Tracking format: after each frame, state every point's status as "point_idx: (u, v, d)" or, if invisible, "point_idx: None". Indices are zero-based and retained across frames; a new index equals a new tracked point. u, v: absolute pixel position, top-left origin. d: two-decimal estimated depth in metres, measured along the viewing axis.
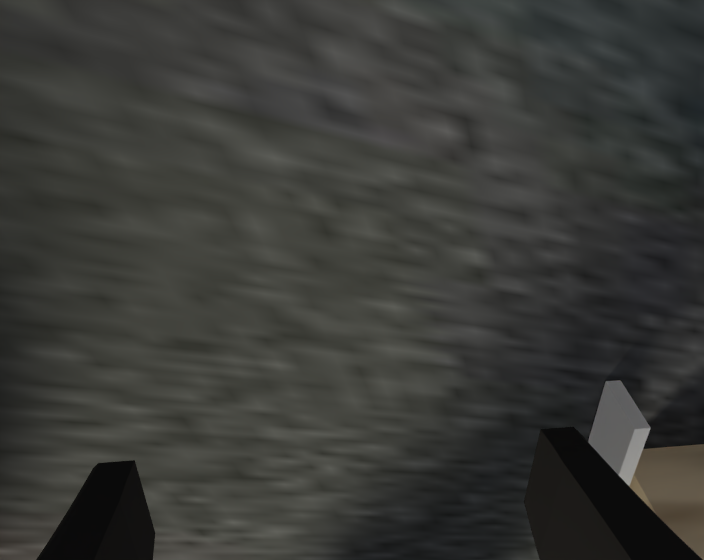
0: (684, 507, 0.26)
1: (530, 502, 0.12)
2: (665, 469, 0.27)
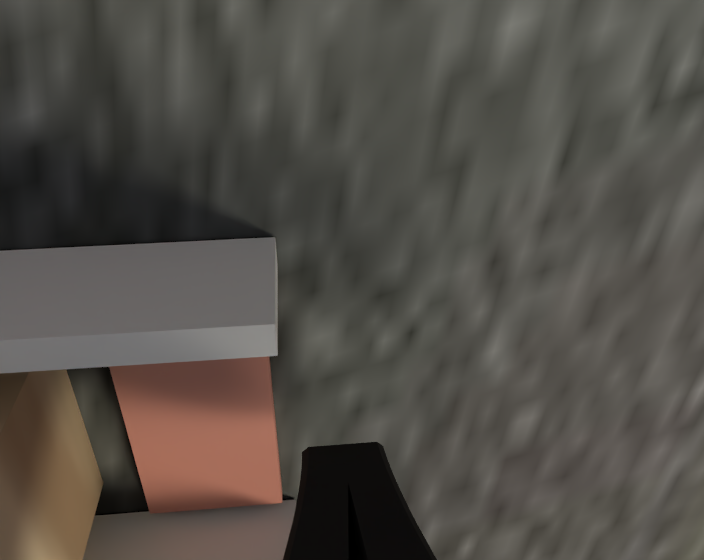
0: None
1: None
2: None
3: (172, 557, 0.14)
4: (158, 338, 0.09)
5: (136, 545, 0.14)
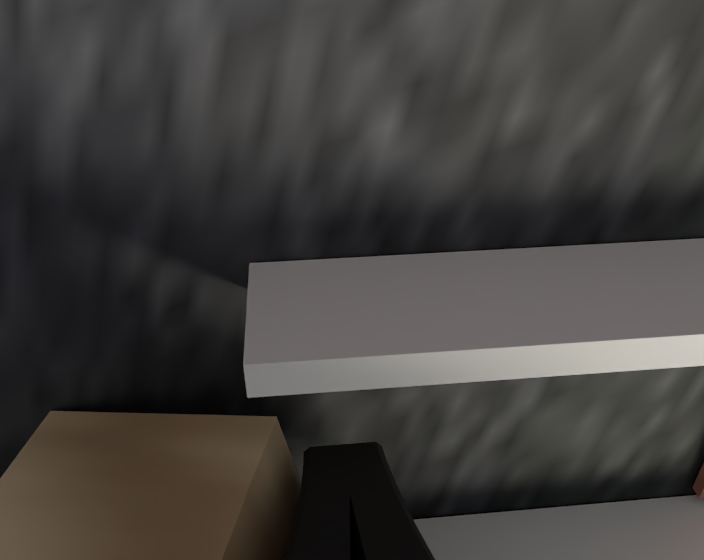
0: None
1: None
2: None
3: None
4: None
5: (698, 528, 0.15)
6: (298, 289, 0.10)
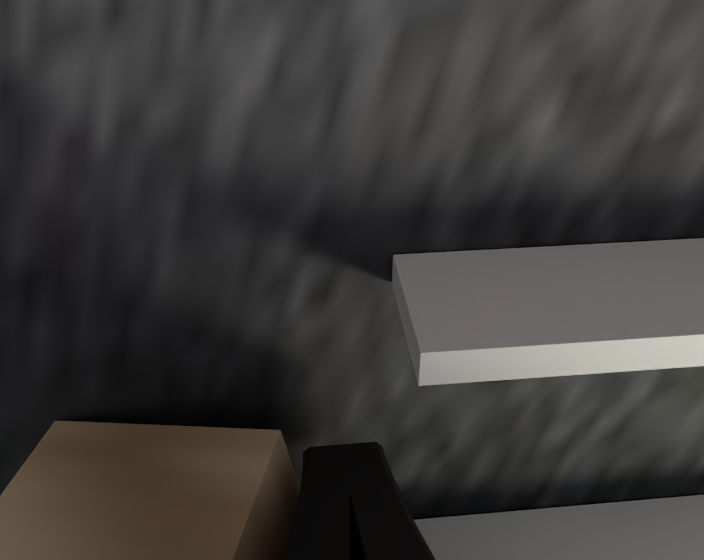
0: None
1: None
2: None
3: None
4: None
5: None
6: (450, 280, 0.10)
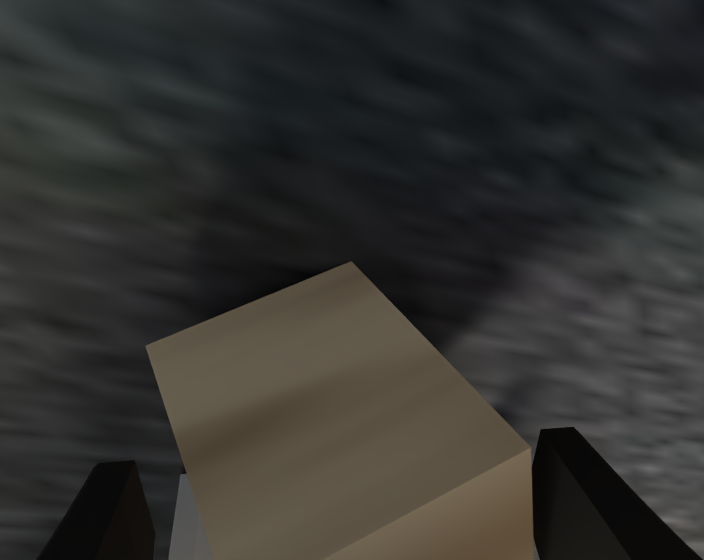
0: (252, 415, 0.11)
1: None
2: (230, 349, 0.12)
3: None
4: None
5: None
6: None
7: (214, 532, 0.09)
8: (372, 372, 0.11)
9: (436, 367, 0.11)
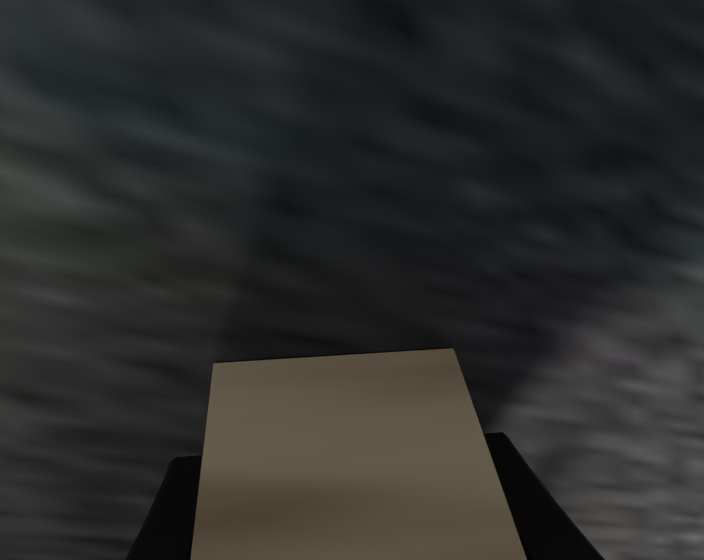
0: (282, 495, 0.10)
1: None
2: (291, 403, 0.11)
3: None
4: None
5: None
6: None
7: None
8: (426, 499, 0.10)
9: (498, 525, 0.09)
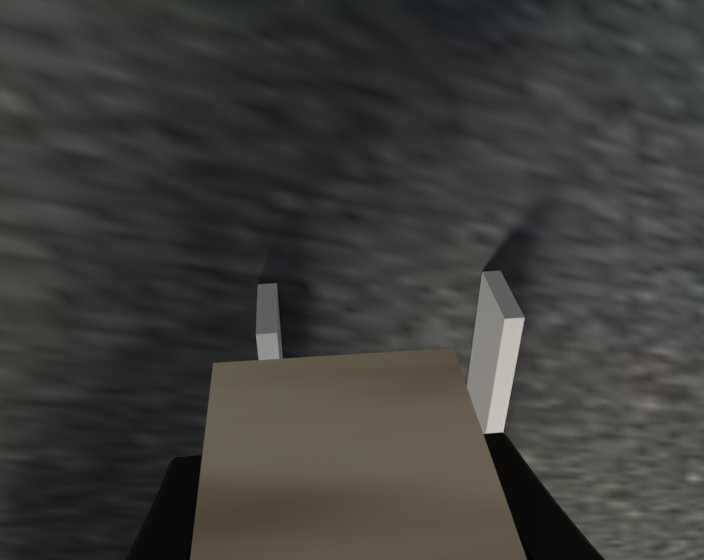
0: (282, 495, 0.10)
1: None
2: (291, 403, 0.11)
3: None
4: None
5: None
6: None
7: None
8: (426, 499, 0.10)
9: (498, 525, 0.09)
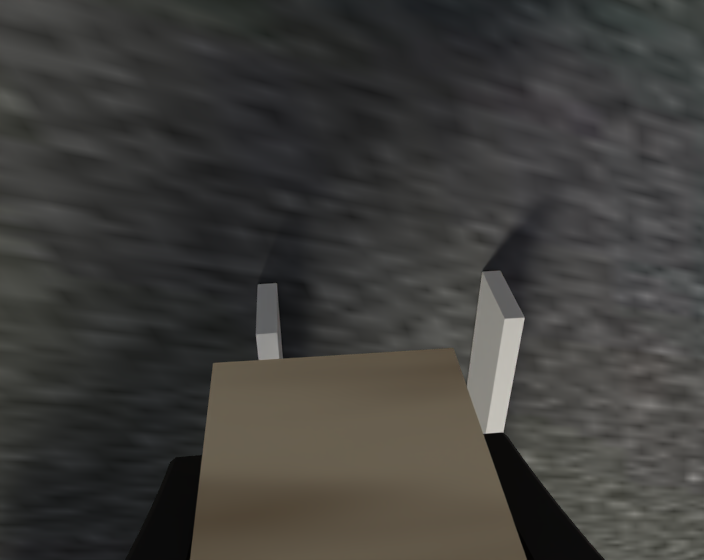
0: (282, 495, 0.10)
1: None
2: (291, 403, 0.11)
3: None
4: None
5: None
6: None
7: None
8: (426, 499, 0.10)
9: (498, 525, 0.09)
